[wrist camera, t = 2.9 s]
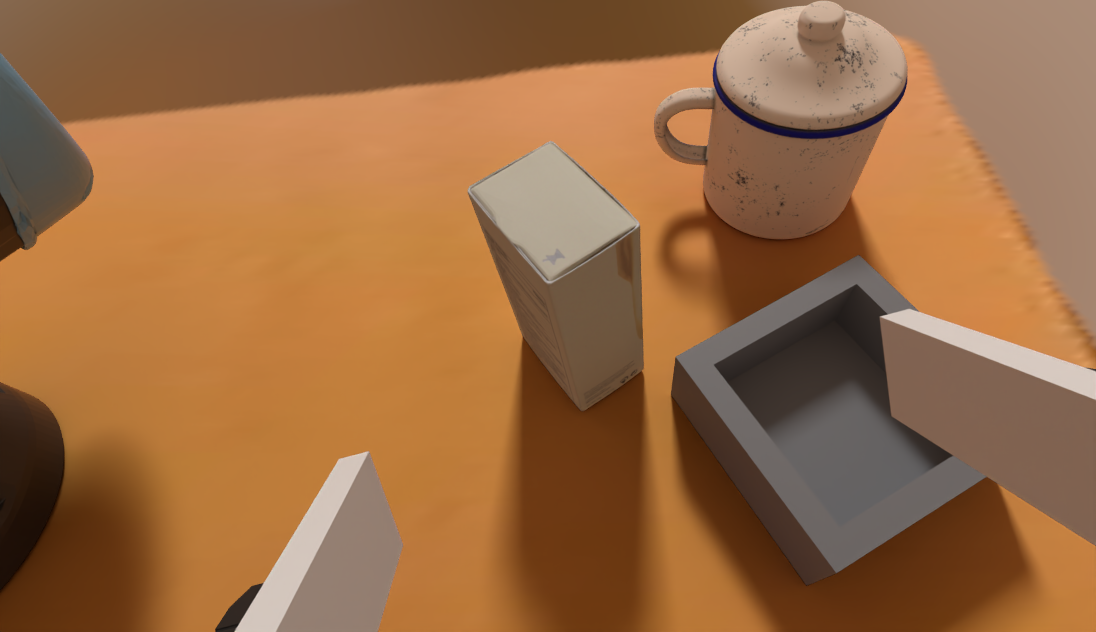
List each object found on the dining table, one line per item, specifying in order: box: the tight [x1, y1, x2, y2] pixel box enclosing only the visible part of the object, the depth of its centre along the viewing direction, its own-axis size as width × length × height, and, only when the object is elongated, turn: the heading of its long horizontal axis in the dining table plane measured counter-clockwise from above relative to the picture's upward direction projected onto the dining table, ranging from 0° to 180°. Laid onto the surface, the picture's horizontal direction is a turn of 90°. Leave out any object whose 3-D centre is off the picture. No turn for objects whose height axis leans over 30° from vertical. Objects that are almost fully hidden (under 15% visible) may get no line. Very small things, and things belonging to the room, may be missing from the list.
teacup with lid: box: [654, 1, 907, 239], centre depth 32 cm, size 12×9×12 cm
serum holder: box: [671, 255, 986, 586], centre depth 27 cm, size 10×10×4 cm
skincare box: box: [468, 141, 644, 411], centre depth 27 cm, size 6×4×12 cm
